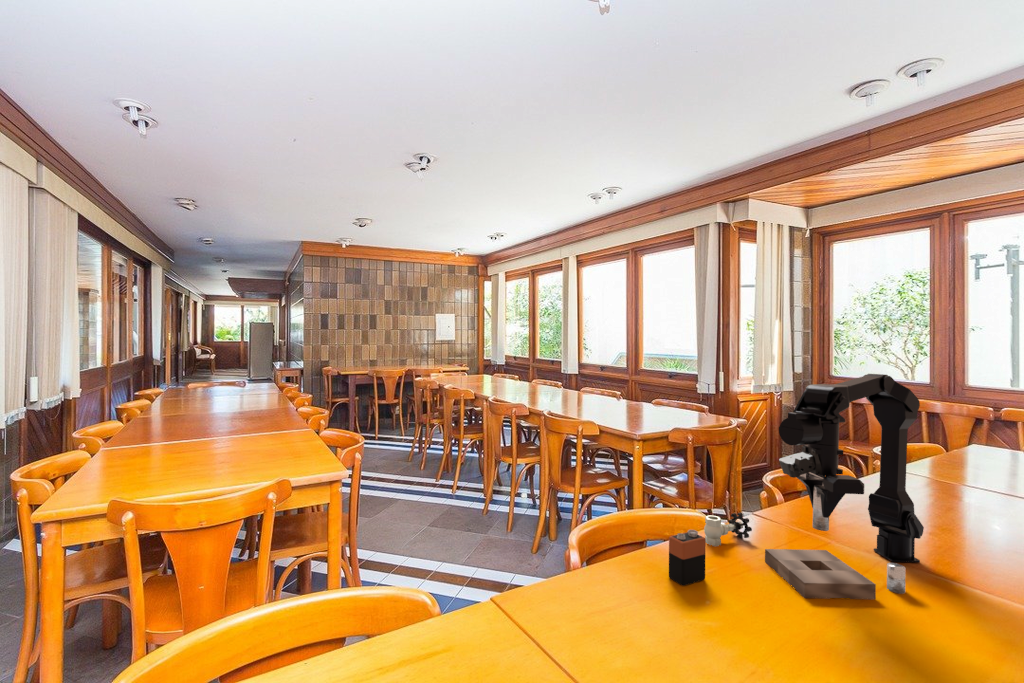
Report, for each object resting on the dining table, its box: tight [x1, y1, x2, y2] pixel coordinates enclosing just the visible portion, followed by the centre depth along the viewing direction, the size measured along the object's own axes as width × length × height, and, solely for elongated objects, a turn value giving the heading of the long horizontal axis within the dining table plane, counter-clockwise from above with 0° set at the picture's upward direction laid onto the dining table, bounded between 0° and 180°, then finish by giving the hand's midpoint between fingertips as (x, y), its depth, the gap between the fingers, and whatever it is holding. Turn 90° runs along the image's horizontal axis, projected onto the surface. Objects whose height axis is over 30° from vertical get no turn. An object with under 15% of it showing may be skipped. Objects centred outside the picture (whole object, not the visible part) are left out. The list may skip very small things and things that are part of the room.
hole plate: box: [764, 548, 877, 600], centre depth 106 cm, size 14×16×3 cm
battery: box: [668, 529, 707, 587], centre depth 106 cm, size 4×7×10 cm, turn 117°
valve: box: [703, 512, 753, 547], centre depth 126 cm, size 7×7×12 cm
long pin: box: [812, 486, 830, 532], centre depth 107 cm, size 3×3×9 cm
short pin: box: [886, 562, 906, 595], centre depth 102 cm, size 3×3×5 cm
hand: (821, 514), depth 107 cm, fingers closed on long pin, 3 cm apart
